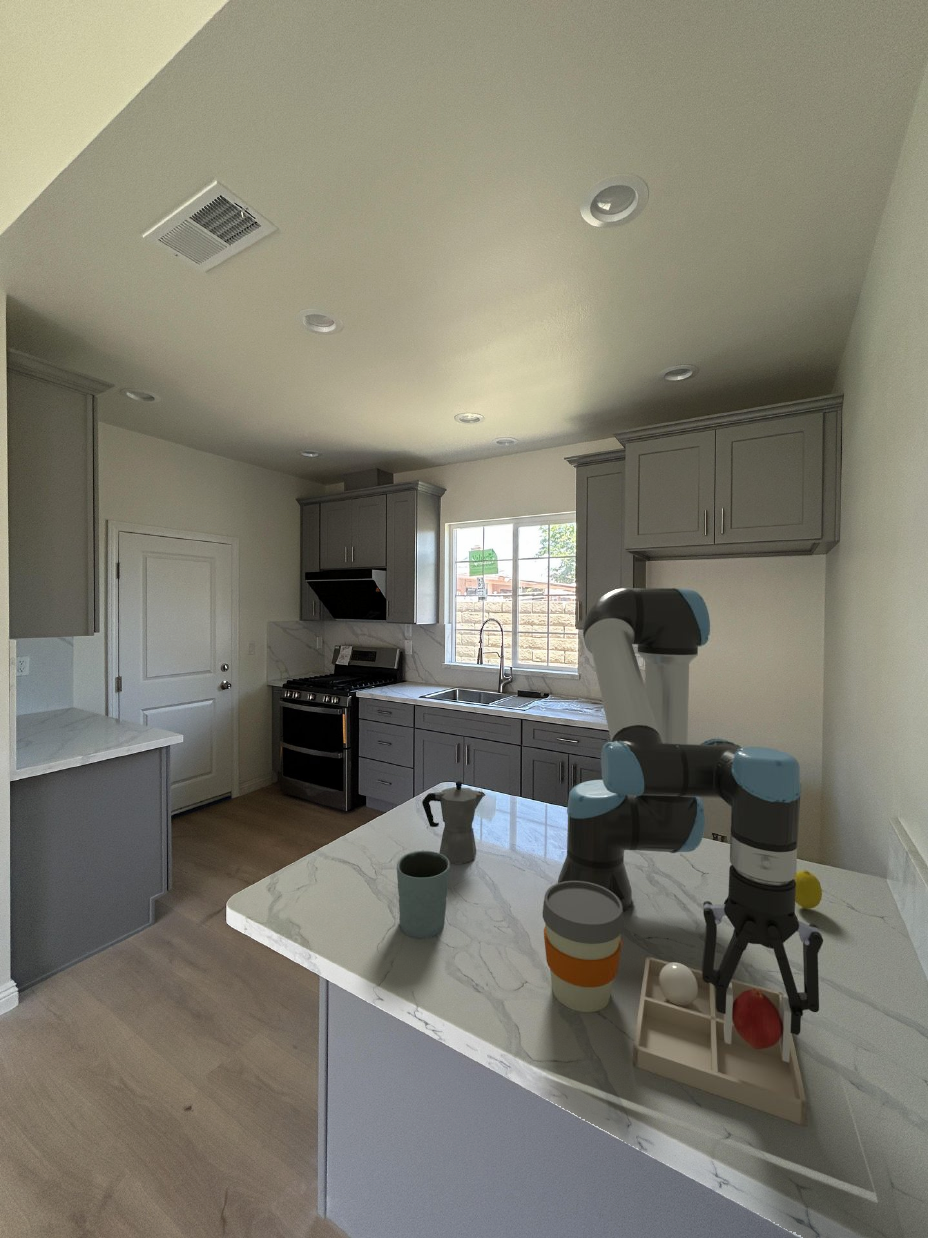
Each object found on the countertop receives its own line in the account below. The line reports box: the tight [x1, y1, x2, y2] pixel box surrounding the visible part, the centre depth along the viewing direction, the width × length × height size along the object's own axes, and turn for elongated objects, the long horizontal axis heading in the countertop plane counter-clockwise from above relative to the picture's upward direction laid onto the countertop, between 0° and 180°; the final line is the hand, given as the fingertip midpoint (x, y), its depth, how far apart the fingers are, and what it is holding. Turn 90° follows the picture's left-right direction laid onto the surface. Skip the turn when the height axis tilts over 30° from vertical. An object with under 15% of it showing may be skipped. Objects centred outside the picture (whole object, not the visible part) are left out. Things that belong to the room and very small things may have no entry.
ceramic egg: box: [659, 961, 698, 1006], centre depth 83 cm, size 6×6×6 cm
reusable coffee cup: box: [541, 881, 625, 1013], centre depth 85 cm, size 13×13×15 cm
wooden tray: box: [632, 955, 808, 1127], centre depth 77 cm, size 20×20×3 cm
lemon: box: [794, 869, 823, 910], centre depth 109 cm, size 6×6×8 cm
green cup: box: [396, 850, 451, 939], centre depth 102 cm, size 10×10×12 cm
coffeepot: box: [421, 781, 486, 865], centre depth 129 cm, size 15×9×18 cm, turn 103°
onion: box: [732, 988, 782, 1050], centre depth 70 cm, size 6×6×8 cm
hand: (755, 1044), depth 70 cm, fingers closed on onion, 6 cm apart
